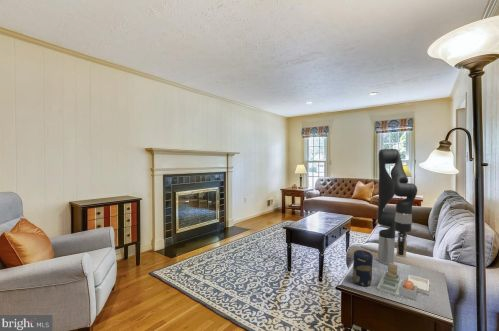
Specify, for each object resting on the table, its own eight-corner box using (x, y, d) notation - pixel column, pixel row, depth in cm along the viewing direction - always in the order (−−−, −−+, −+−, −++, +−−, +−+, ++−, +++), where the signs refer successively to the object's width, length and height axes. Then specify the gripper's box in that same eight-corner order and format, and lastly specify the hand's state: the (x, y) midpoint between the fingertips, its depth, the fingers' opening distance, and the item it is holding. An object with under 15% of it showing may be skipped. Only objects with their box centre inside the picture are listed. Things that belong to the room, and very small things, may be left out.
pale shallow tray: (408, 278, 141) (408, 274, 141) (429, 284, 135) (429, 280, 135) (406, 289, 131) (406, 284, 130) (428, 295, 125) (428, 291, 125)
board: (383, 275, 144) (383, 270, 144) (403, 281, 138) (403, 276, 138) (376, 289, 129) (377, 284, 129) (398, 296, 123) (399, 291, 123)
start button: (404, 290, 128) (404, 279, 128) (413, 293, 126) (413, 282, 126) (403, 294, 125) (403, 282, 125) (412, 297, 123) (413, 285, 122)
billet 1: (388, 276, 141) (389, 262, 140) (396, 278, 139) (397, 265, 138) (387, 279, 138) (388, 265, 137) (395, 281, 135) (396, 267, 135)
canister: (372, 281, 137) (374, 250, 136) (369, 289, 130) (371, 256, 129) (354, 276, 143) (355, 246, 142) (350, 283, 135) (352, 251, 134)
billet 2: (397, 253, 132) (398, 238, 131) (405, 255, 129) (406, 240, 129) (396, 255, 128) (397, 240, 128) (405, 257, 126) (406, 242, 126)
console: (401, 288, 131) (401, 281, 130) (416, 293, 126) (417, 286, 126) (399, 294, 125) (399, 287, 125) (415, 300, 121) (416, 292, 120)
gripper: (396, 217, 136) (394, 247, 137) (393, 222, 124) (391, 255, 125) (412, 219, 132) (410, 251, 132) (410, 225, 120) (408, 260, 121)
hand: (401, 253), depth 129 cm, fingers closed on billet 2, 4 cm apart
